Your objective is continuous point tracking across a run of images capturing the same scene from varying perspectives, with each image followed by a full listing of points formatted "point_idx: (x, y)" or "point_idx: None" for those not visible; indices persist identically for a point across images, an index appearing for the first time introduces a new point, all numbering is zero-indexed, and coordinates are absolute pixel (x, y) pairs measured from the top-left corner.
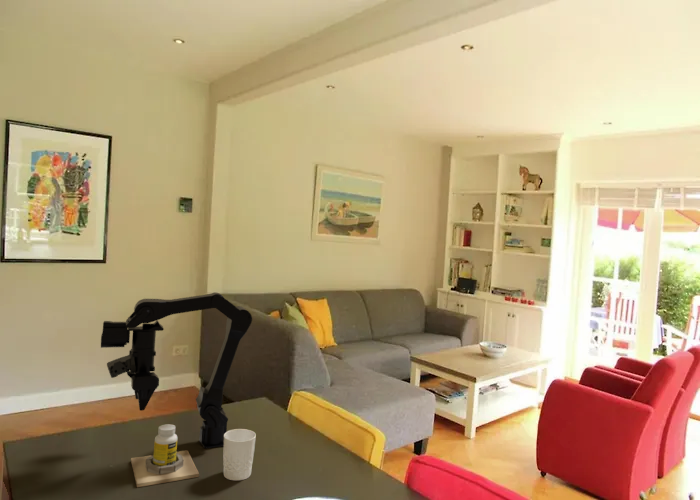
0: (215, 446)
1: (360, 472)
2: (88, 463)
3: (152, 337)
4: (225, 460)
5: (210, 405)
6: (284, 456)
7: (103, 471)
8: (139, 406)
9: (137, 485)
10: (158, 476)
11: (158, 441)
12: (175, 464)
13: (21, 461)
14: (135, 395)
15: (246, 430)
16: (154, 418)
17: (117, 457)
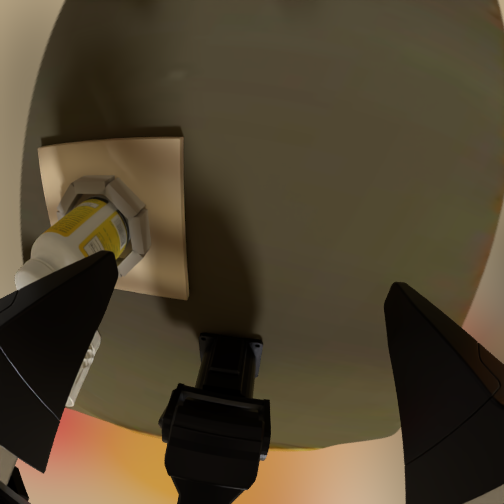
0: (200, 351)
1: (92, 409)
2: (225, 8)
3: None
4: None
5: (166, 441)
6: (138, 396)
7: (143, 53)
8: (75, 263)
9: (40, 147)
10: (58, 198)
11: (34, 242)
12: None
13: None
14: (406, 298)
15: (70, 403)
16: (472, 281)
17: (235, 97)
